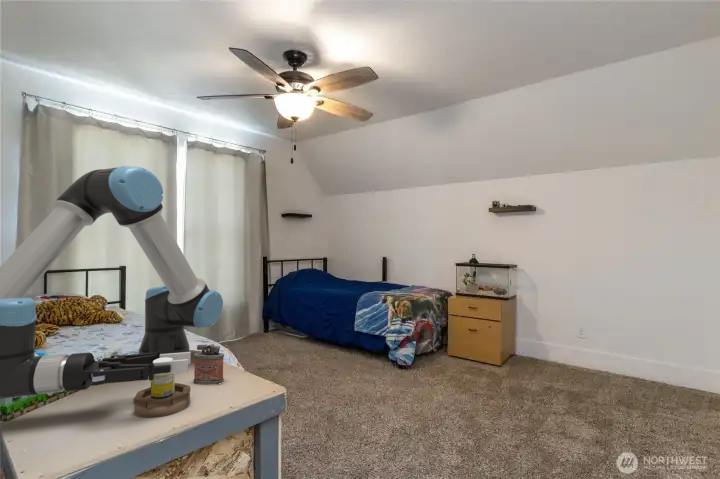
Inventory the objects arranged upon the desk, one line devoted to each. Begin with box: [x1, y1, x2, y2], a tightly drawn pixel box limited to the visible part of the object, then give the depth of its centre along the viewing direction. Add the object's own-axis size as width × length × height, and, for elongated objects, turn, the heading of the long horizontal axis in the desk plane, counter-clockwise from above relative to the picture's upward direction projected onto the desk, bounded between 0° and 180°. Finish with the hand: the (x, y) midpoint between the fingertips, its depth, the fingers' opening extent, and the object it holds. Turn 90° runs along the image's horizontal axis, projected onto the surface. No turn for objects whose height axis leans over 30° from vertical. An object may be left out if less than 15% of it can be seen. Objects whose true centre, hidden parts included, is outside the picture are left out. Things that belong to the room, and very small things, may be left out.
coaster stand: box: [132, 382, 191, 419], centre depth 83 cm, size 11×11×3 cm
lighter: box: [193, 343, 225, 386], centre depth 99 cm, size 8×3×10 cm, turn 84°
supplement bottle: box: [150, 357, 176, 400], centre depth 83 cm, size 5×5×8 cm
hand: (188, 361), depth 85 cm, fingers open, 6 cm apart
